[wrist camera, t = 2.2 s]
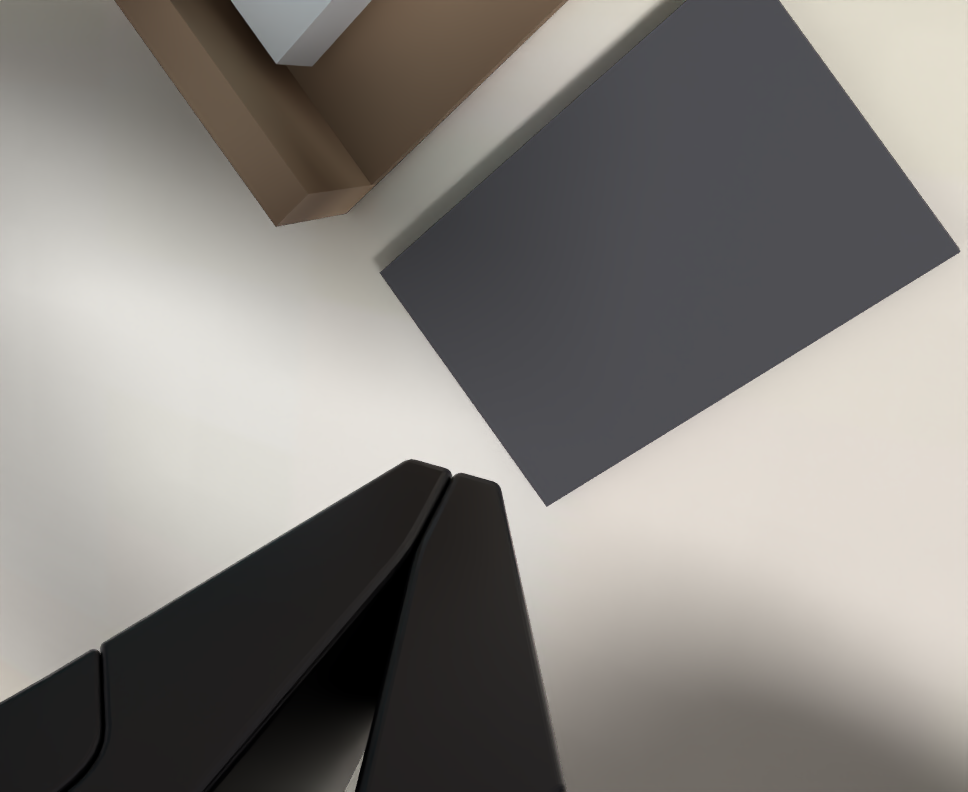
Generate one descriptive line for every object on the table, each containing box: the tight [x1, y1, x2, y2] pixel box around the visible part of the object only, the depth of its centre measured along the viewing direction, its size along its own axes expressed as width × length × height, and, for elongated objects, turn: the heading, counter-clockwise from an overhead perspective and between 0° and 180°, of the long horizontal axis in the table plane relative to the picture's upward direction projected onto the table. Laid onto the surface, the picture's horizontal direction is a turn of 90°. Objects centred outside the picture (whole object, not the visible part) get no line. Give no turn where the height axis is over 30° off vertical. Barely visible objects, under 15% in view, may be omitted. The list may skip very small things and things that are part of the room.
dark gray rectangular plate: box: [380, 0, 960, 506], centre depth 17 cm, size 6×9×1 cm, turn 129°
